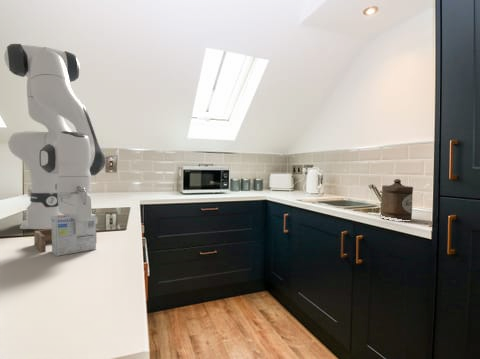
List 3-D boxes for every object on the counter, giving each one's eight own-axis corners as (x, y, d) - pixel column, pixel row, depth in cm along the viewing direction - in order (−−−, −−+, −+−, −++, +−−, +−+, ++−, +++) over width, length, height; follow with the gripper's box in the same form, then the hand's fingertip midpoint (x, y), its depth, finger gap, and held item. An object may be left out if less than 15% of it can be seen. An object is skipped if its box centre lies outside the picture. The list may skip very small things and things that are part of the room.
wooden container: (411, 223, 141) (413, 179, 141) (379, 219, 149) (380, 178, 148) (411, 219, 154) (413, 179, 153) (381, 216, 162) (383, 178, 161)
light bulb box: (89, 245, 90) (89, 211, 89) (96, 249, 85) (96, 214, 85) (50, 251, 82) (50, 215, 82) (55, 256, 77) (55, 218, 77)
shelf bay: (34, 244, 88) (34, 230, 88) (86, 237, 99) (85, 224, 99) (41, 252, 81) (41, 237, 81) (96, 243, 92) (96, 229, 92)
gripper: (97, 187, 78) (97, 236, 78) (76, 183, 92) (76, 225, 93) (72, 188, 73) (72, 240, 74) (53, 184, 88) (53, 227, 88)
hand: (74, 231), depth 83 cm, fingers closed on light bulb box, 7 cm apart
